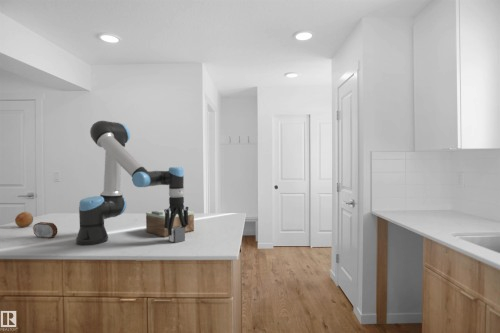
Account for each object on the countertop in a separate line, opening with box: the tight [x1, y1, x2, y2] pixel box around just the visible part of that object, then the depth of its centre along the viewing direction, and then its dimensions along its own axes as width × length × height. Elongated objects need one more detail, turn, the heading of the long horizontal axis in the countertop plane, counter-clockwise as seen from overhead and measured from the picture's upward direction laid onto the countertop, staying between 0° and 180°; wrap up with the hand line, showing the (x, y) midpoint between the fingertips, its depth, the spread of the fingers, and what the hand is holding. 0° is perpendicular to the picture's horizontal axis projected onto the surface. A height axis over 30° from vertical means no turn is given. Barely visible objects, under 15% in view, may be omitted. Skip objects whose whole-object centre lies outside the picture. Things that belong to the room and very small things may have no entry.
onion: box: [14, 211, 34, 228], centre depth 205 cm, size 10×10×10 cm
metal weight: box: [172, 226, 186, 244], centre depth 164 cm, size 6×6×7 cm
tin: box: [32, 221, 58, 239], centre depth 176 cm, size 15×3×8 cm, turn 74°
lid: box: [145, 209, 195, 219], centre depth 186 cm, size 20×20×3 cm
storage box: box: [145, 214, 195, 238], centre depth 186 cm, size 20×20×10 cm
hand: (176, 239), depth 164 cm, fingers closed on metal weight, 6 cm apart
